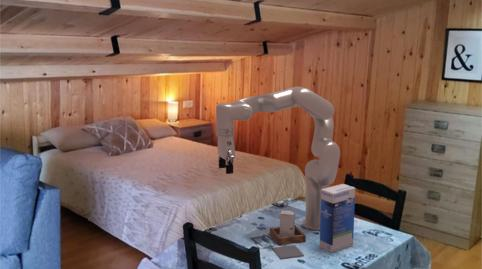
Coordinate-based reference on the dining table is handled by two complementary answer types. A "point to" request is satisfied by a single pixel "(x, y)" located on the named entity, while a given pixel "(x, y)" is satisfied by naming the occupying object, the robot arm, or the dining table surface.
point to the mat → (288, 252)
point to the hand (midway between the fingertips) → (225, 170)
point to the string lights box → (337, 217)
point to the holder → (279, 240)
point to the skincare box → (287, 223)
